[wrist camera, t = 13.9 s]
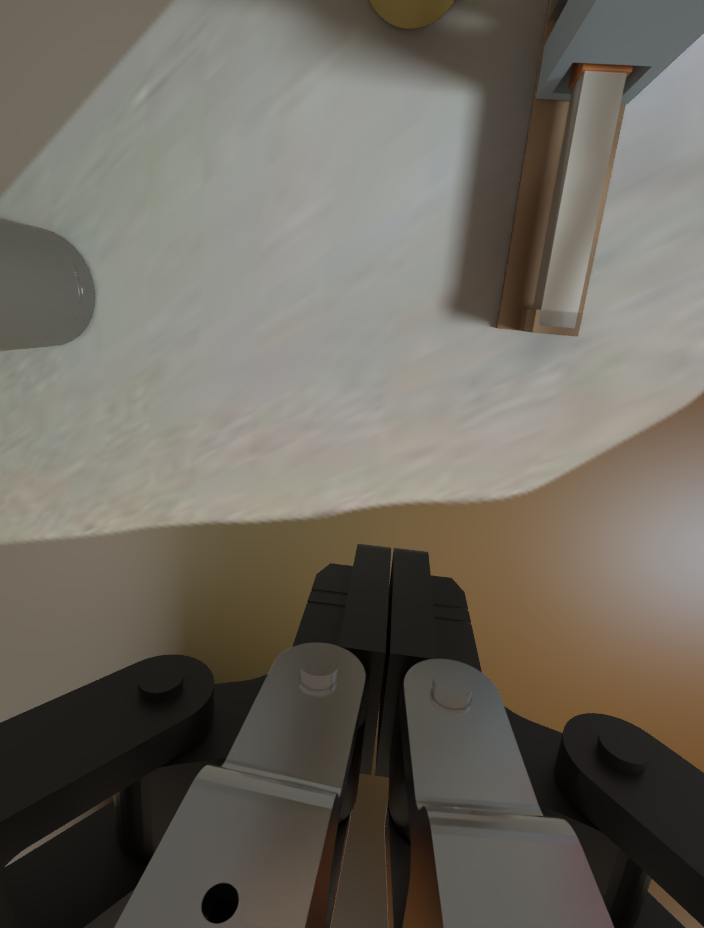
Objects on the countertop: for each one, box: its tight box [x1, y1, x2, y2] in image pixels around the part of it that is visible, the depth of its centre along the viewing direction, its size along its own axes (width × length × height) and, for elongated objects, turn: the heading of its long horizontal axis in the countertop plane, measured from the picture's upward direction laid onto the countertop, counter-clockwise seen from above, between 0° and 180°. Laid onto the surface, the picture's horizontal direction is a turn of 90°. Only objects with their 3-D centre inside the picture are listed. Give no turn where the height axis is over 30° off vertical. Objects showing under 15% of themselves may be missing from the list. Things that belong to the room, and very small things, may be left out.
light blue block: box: [536, 0, 704, 104], centre depth 27 cm, size 6×3×14 cm, turn 85°
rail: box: [497, 0, 633, 336], centre depth 32 cm, size 6×24×7 cm, turn 176°
